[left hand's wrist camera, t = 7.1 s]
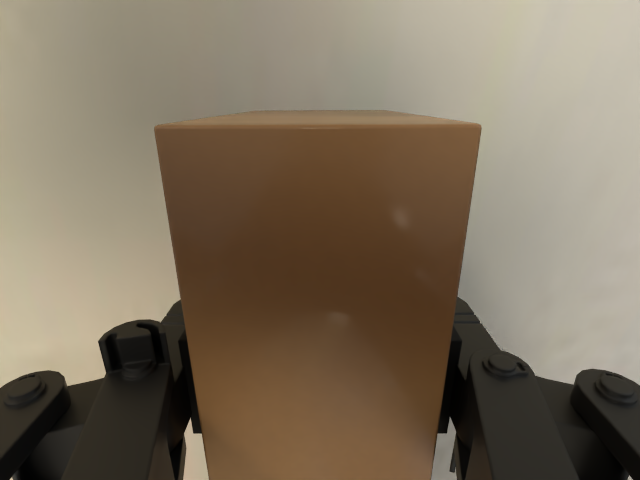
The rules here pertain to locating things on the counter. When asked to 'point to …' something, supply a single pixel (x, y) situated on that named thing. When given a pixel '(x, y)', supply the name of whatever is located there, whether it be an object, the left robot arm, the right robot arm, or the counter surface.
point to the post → (318, 285)
